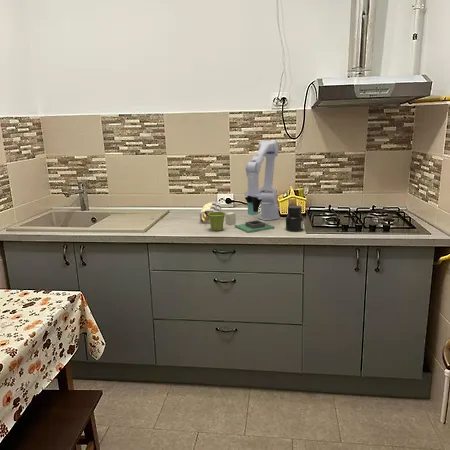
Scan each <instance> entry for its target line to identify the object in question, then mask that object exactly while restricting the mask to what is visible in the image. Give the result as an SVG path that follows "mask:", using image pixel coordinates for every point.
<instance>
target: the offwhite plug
mask: <svg viewBox="0 0 450 450" xmlns="http://www.w3.org/2000/svg"><path fill="white" fill-rule="evenodd" d="M225 213H226V214H225V217H224V221H225V225H229V226H232V225H237V222H236V220H237V219H236V212H232V211H230V212H225Z"/></svg>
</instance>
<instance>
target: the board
mask: <svg viewBox="0 0 450 450" xmlns="http://www.w3.org/2000/svg"><path fill="white" fill-rule="evenodd" d="M234 228H236V229H238V230H240V231H242V232H245V233H247V234H251V233H256V232H262V231H267V230H272V229H273V230H274V229H275V226H274V225H271V224H269V223H266V222H263V221H260V220H258V219H256V220H250V221H245V223H240V224H234Z"/></svg>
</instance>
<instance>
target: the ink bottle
mask: <svg viewBox="0 0 450 450" xmlns="http://www.w3.org/2000/svg"><path fill="white" fill-rule="evenodd" d="M285 230H286V231H288V232H301V231H303V230H304V216H303V215H302V206H301V205H289V206H288V207H287V216H285Z"/></svg>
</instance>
